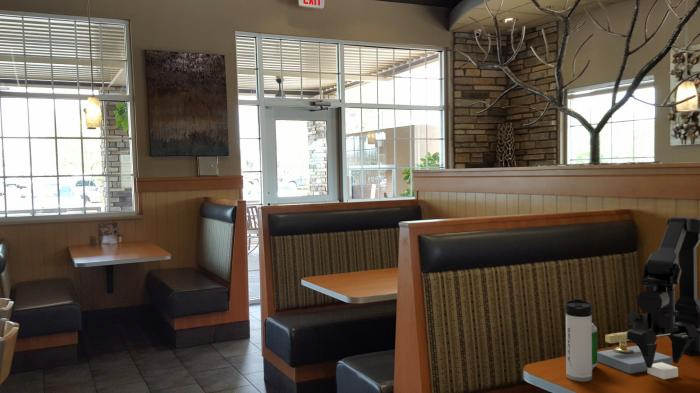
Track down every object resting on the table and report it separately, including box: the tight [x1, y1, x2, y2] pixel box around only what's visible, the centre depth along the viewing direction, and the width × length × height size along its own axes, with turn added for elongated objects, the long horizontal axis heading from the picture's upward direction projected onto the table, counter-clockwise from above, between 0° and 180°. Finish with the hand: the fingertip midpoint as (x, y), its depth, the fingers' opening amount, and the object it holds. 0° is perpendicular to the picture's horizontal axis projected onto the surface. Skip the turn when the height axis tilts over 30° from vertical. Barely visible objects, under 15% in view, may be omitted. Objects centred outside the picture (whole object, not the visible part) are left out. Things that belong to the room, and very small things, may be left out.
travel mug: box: [565, 298, 593, 383], centre depth 152 cm, size 6×7×20 cm
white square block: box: [646, 362, 679, 380], centre depth 153 cm, size 5×5×3 cm
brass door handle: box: [604, 331, 631, 353], centre depth 166 cm, size 4×11×5 cm, turn 110°
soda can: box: [592, 322, 598, 370], centre depth 160 cm, size 8×8×12 cm
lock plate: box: [597, 345, 673, 374], centre depth 162 cm, size 15×12×3 cm
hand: (662, 365), depth 153 cm, fingers open, 9 cm apart
